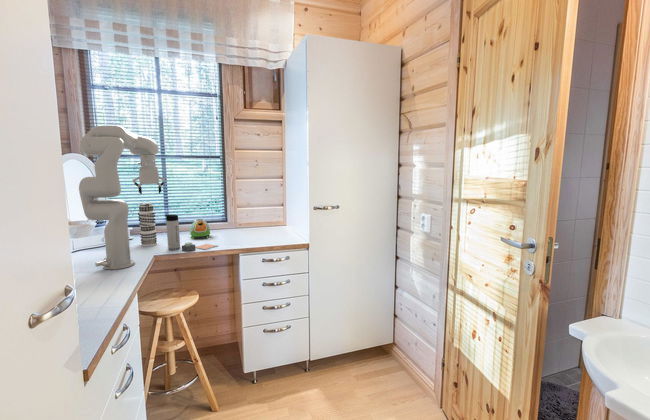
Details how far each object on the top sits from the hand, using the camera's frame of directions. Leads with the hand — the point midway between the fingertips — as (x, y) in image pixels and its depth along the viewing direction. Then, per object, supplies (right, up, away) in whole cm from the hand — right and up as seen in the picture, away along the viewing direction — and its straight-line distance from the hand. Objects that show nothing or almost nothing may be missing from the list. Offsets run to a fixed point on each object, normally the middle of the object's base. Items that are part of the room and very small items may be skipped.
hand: (150, 193), depth 196 cm
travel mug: (+17, -32, -6) cm, 37 cm away
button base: (+26, -32, -10) cm, 43 cm away
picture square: (+33, -31, -2) cm, 45 cm away
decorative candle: (-3, -31, +5) cm, 31 cm away
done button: (+26, -30, -10) cm, 41 cm away
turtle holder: (+20, -28, +25) cm, 42 cm away
